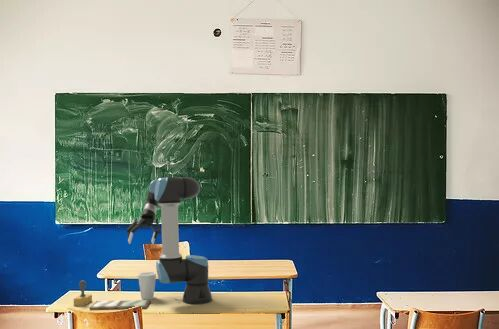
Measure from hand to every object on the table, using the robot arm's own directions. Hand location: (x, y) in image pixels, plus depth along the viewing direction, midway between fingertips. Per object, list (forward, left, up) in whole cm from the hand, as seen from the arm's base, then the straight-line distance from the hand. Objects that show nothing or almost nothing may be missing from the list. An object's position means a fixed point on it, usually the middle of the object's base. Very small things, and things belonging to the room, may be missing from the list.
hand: (140, 242), depth 309 cm
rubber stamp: (+17, +29, -28) cm, 44 cm away
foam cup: (-10, +10, -28) cm, 31 cm away
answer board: (-5, +28, -28) cm, 40 cm away
